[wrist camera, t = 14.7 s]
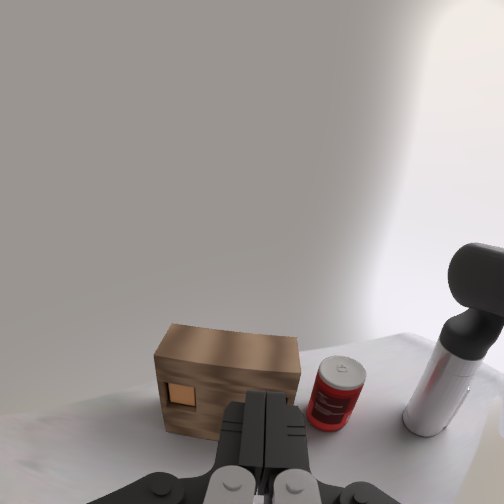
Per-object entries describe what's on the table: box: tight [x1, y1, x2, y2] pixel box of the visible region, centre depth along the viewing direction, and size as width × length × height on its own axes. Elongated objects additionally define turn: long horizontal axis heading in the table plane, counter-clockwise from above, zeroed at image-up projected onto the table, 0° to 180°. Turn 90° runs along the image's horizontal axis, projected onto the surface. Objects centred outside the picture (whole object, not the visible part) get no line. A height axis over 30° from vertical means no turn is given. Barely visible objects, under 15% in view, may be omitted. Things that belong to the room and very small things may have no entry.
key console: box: [154, 323, 301, 441], centre depth 39 cm, size 18×8×16 cm, turn 86°
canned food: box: [307, 356, 366, 432], centre depth 42 cm, size 8×8×11 cm
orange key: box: [168, 383, 196, 406], centre depth 38 cm, size 4×5×4 cm
